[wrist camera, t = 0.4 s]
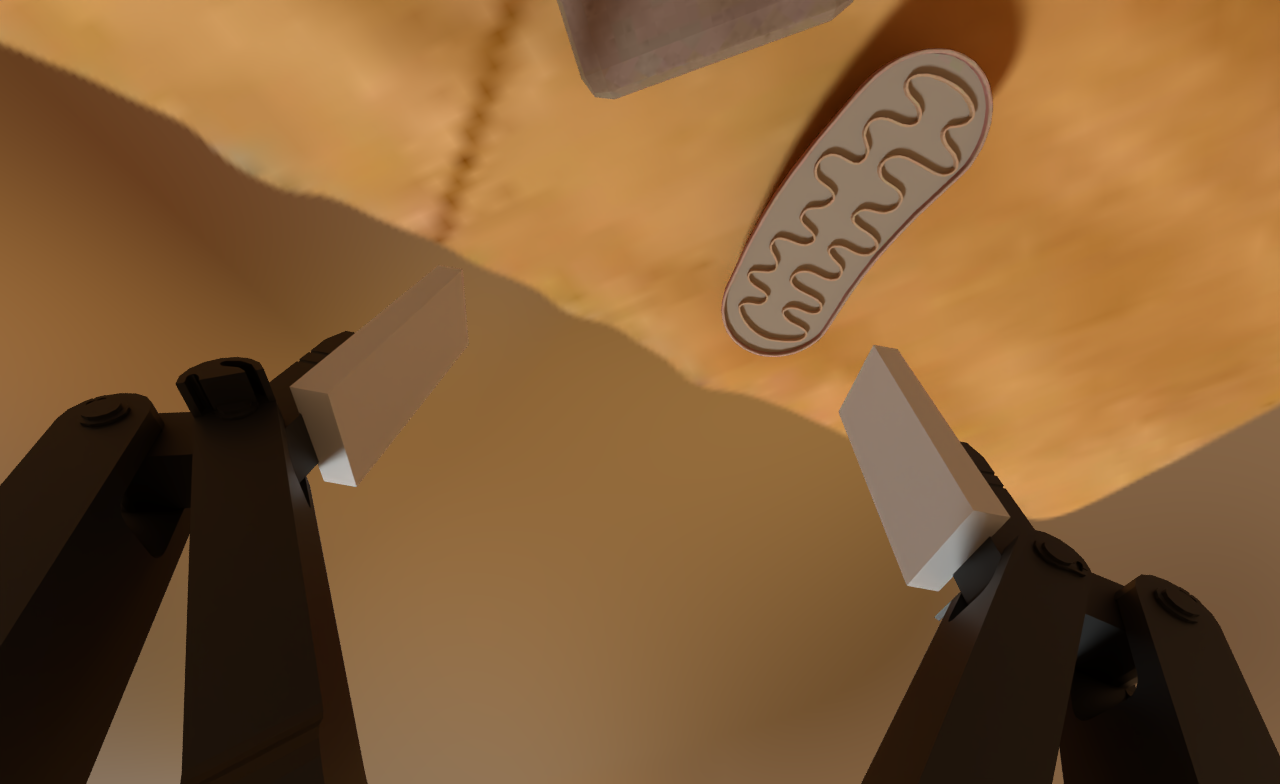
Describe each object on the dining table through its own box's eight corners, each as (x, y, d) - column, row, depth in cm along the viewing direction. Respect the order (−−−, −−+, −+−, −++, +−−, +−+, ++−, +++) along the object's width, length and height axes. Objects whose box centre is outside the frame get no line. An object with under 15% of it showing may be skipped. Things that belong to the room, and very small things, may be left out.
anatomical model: (782, 345, 45) (790, 373, 41) (692, 298, 43) (692, 323, 39) (987, 94, 32) (1029, 100, 28) (873, 12, 30) (900, 5, 26)
